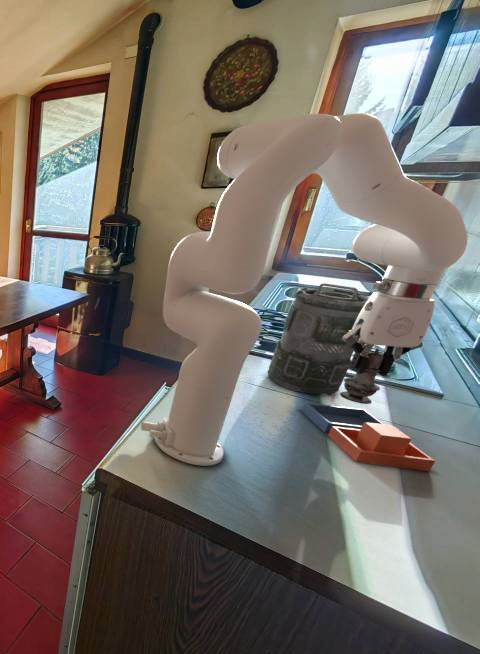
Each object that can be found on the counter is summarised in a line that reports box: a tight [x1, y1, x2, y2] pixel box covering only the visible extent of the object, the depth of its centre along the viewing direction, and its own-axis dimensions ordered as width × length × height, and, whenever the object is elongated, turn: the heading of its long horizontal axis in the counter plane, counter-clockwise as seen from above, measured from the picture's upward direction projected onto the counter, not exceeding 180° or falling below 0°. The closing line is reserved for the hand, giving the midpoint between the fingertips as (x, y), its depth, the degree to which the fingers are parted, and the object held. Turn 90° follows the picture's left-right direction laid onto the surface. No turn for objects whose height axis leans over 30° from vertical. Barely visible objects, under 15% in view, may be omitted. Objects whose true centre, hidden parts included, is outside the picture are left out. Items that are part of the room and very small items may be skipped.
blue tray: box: [301, 402, 385, 434], centre depth 89 cm, size 12×9×2 cm
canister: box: [267, 283, 370, 396], centre depth 104 cm, size 16×16×28 cm
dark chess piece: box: [339, 348, 384, 405], centre depth 85 cm, size 6×6×12 cm
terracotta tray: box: [327, 426, 436, 472], centre depth 80 cm, size 12×9×2 cm
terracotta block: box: [355, 422, 412, 455], centre depth 79 cm, size 5×5×5 cm
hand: (367, 371), depth 85 cm, fingers closed on dark chess piece, 3 cm apart
